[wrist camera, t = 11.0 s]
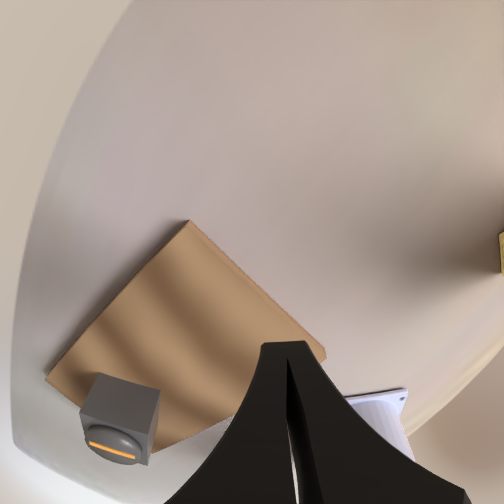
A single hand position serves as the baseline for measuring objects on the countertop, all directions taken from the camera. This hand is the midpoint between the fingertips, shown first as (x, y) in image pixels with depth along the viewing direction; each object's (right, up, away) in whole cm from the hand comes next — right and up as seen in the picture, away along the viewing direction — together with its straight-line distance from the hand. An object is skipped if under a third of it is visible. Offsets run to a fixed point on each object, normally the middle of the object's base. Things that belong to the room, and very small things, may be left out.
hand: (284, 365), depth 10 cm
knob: (-11, -9, +14) cm, 20 cm away
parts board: (-8, -6, +14) cm, 17 cm away
